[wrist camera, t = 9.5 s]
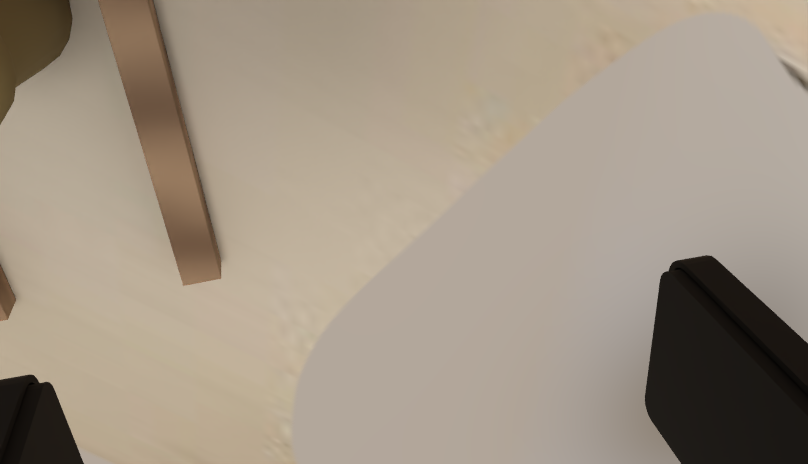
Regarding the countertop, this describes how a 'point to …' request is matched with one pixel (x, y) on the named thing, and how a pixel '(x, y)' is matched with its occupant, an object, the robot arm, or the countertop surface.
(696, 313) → the robot arm
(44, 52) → the cork
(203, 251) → the walnut track
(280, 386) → the countertop surface
